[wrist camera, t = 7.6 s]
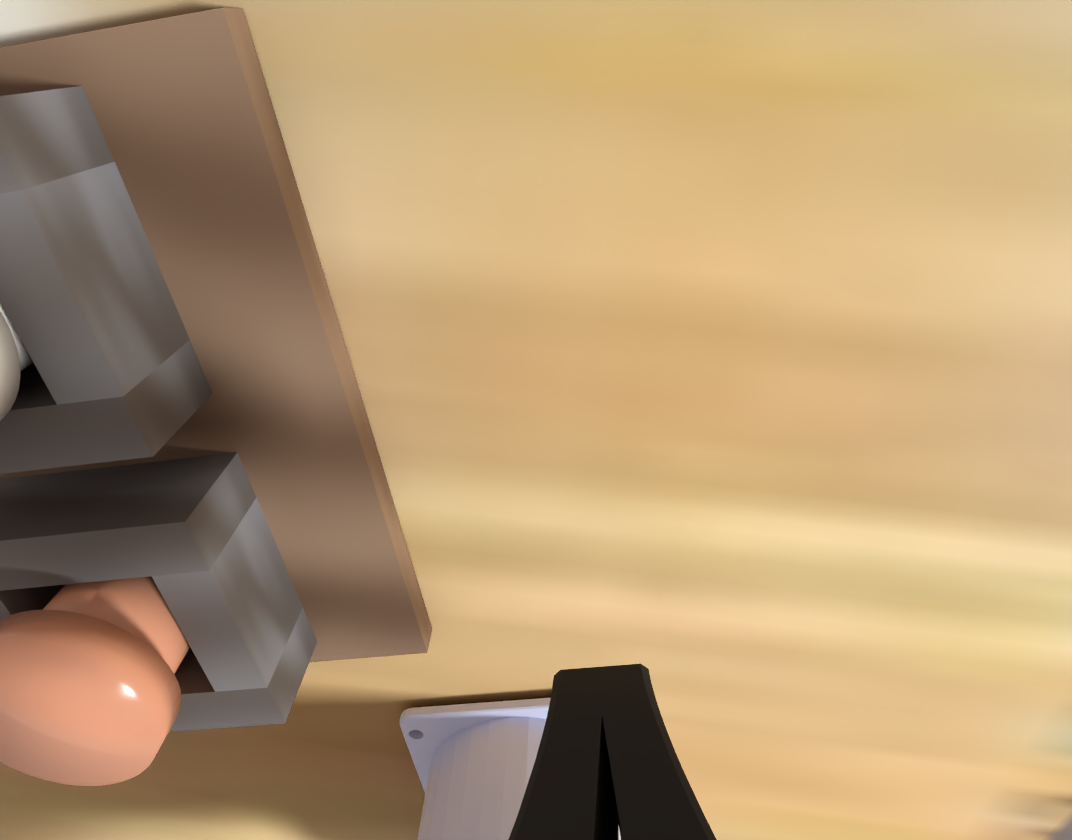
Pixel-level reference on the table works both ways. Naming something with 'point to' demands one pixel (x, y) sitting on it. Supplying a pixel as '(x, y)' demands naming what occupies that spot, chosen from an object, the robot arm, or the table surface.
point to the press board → (185, 369)
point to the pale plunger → (10, 362)
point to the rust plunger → (90, 682)
